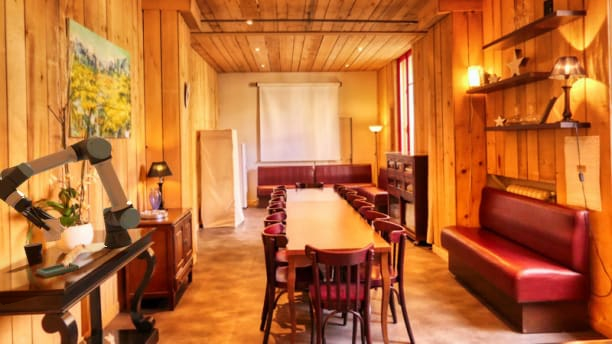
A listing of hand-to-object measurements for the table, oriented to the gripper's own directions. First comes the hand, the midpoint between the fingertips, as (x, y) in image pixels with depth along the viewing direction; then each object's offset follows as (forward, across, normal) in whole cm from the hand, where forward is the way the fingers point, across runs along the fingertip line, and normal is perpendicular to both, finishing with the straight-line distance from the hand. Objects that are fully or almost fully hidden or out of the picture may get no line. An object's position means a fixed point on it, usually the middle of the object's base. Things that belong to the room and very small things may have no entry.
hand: (59, 232), depth 219 cm
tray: (+11, 0, -16) cm, 19 cm away
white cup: (0, 0, -5) cm, 5 cm away
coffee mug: (-5, -28, -32) cm, 42 cm away
